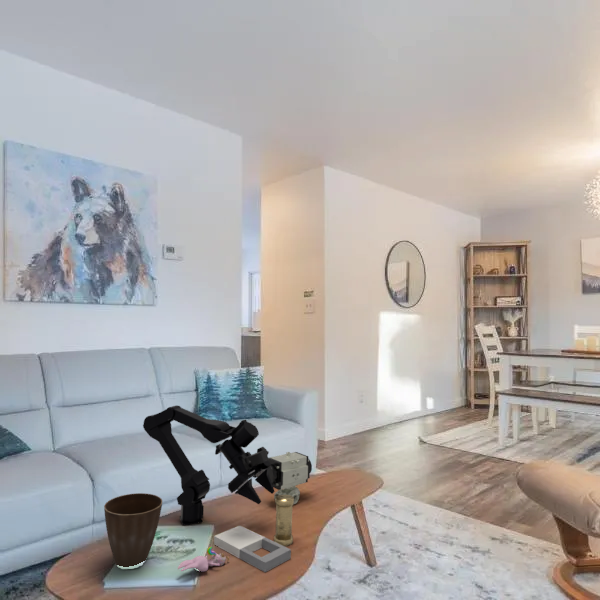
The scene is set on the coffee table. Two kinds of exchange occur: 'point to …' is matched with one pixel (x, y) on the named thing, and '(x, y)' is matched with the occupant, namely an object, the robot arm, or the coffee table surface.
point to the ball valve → (289, 473)
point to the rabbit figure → (204, 561)
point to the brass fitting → (284, 520)
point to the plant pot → (132, 526)
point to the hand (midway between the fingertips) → (266, 497)
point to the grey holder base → (252, 548)
